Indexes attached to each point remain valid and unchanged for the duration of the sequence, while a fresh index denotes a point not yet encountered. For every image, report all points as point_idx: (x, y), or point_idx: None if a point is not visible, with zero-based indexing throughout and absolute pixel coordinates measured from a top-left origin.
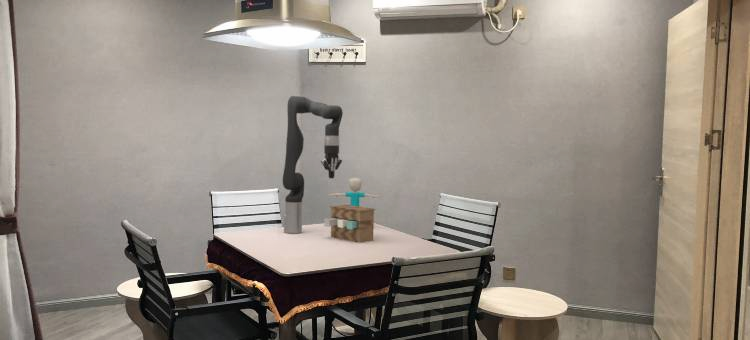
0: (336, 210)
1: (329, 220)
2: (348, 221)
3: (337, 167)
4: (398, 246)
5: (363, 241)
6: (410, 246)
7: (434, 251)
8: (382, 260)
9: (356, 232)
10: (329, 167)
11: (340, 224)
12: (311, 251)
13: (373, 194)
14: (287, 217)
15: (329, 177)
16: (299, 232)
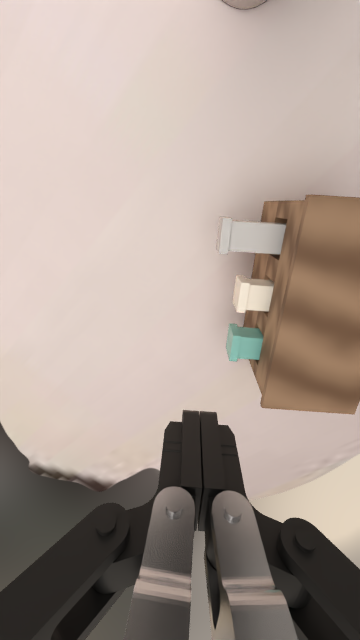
0: (294, 246)
1: (220, 252)
2: (231, 343)
3: (305, 613)
4: (266, 428)
5: None
6: (284, 444)
7: (266, 495)
8: (119, 476)
9: None
10: (107, 608)
11: (235, 294)
12: (52, 328)
13: None
14: None
15: (182, 419)
16: (247, 6)
